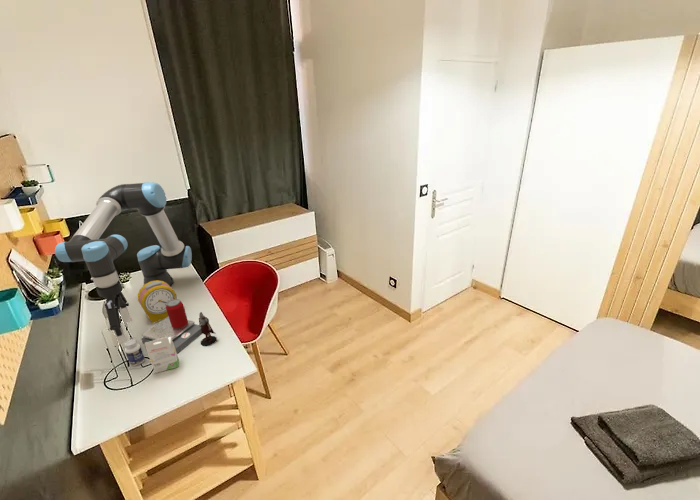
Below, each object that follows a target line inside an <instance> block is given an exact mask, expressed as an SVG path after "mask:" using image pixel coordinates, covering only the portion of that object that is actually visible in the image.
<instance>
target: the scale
mask: <svg viewBox="0 0 700 500" xmlns="http://www.w3.org/2000/svg"><path fill="white" fill-rule="evenodd" d="M202 334H203V333H202V332H201V328H200V327H199V324H196V323H194V324H193V325H192V326H190V327H189V328H188V329H186V330H185V331H184V332H183V333H181V334H180V335H179V336H177V337H176V338H175V339H174V340H172V341H173V343H174V346H175V349H176V352H177V354H179V353H180V352H182V350H184V349H185V348H186V347H187V346H188V345H189V344H191V343H192V342H193V341H195V339H197V338H198V337H199V336H200V335H202ZM140 340H141V343H142V344H143V345H145V342H149V341H153V340H152V339H149V338H145V337H141V338H140Z"/></svg>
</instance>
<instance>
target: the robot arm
mask: <svg viewBox="0 0 700 500" xmlns="http://www.w3.org/2000/svg"><path fill="white" fill-rule="evenodd" d="M166 205H167V197H166V191H165V190H164V188H163V187H162V186H161V185H160V184H159V183H157V182H154V181H153V182H150V181H145V182H139V183H137V182H136V183H122V184H118V185H116V186H113V187H112V188H110V189H108V190H107V191H105V192H104V193H103V194H102V195H101V196H100V197H99V198H98V199H97V201H96V203H95V208H94V209H93V210H92V211H91V212H90V213H89V215H88V216H87V218H86V219H85V220H84V221H83V223H82V224H81V225H80V227H79V228H78V229H77V231H76V232H75V233H74V234H73V236H72V237H71V238H70V239H69V240H68V241H62V242H59V243H57V244H56V245H55V248H54V254H55V257H56V258H57V260H58V261H59V262H61V263H62V262H63V263H76V262H85V264H86V267H87V269H88V271H89V274H90V276H91V278H90V280H91V281H93V284H94V286H95V289H96V293H97V294H98V296H99V297H100V298H105V299H106V300H105V303H104V307H105V310H106V313H107V318H108V323H109V324H108V325H109V330H110V331H113V332H114V335H115V337H116V340H117V342H118V344H120V343H124V342H125V343H126V342H127V341H128V338H127V335H126V333H125V330H124V328H123V325H121V318H122V321H123V323H124V324H126V323H130V322H132V321H133V318H132V317H131V313H130V311H129V308H128V307H129V306H130V303H129V302H128V300H127V299H126V297H125V295H124V294H123V292H122V291H123V286H122V283H121V281H120V278H119V274H118V271H117V269H116V266H115V263H114V262H115V261H116V259H118V258H119V257H120V256H121V255H123V254H124V253H125V252H126V250H127V248H128V247H129V246H128V245H129V244H128V241H127V238H126V237H124V236H122V235H120V234H111V235H109V236H107V237H106V238H101V236H102V235H103V233H104V232H105V231H106V229H107V228H108V226H109V225H110V223H111V222H112V220H113V219H114V218H115V216H118V215H119V214H121V212H124V211H127V210H137V211H138V213H139V215H141V216H143V217H145V219H146V220H147V223H148V225H149V226H150V228H151V230H152V232H153V234H154V236H155V237H156V239H157V241H158V243H159V245H157V244H155V245H149V246H147V247H144V248H141V249H140V250H139V251H138V252H137V254H136V257H137V262H138V264H139V266H140V270H141V272H142V275H143V286H144V285H145V284H146V283H148V282H150V281H156V280H159V281H164V282H165V283H167V284H168V285H169V286H170V287H171V288H172V286H173V285H174V284H175V282H174V278H173V277H172V275H171V274H170V273H169V272H168V270H173V269H175V270H176V269H184V268H189V267H190V266H191V264H192V257H193V256H192V255H193V254H192V248H191V247H190V246H189V245H186V246H185V244H184V243H183V241H181V240H179V239H178V236H177V234H176V232H175V230H174V228H173V226H172V224H171V221H170V220H169V218H168V216H167V214H166V212H165V208H166ZM160 246H161V247H160ZM143 286H142V287H143ZM120 315H121V317H120Z"/></svg>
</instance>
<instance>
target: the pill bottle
mask: <svg viewBox="0 0 700 500" xmlns="http://www.w3.org/2000/svg"><path fill="white" fill-rule="evenodd" d="M124 346H125V349H124V353H125V355H126V357H127V360H128V363H129V365H130V366H139V365H141V364H142V363H144V361H145V358H146V357H145V355H144V353H143V350H142V347H141V345H140V343H138V342H137V340H136V339H134V338H133V339H127V341H125V343H124Z"/></svg>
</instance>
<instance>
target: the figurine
mask: <svg viewBox="0 0 700 500" xmlns="http://www.w3.org/2000/svg"><path fill="white" fill-rule="evenodd" d="M198 315H199V318H198V323H199V324H198V325H199V327H200V328H201V332H202V334H203V335H204V336H205V337H204V338H202V339H201V340H200V345H201V346H203V347H209V346H212V345H214V344H215V343H216V342H217V337H216V336H215V335H212V334H216V332H215V331H214V330H213V328H212V326H211V324H210V322H209V318H208V317H206V316H205V315H204V313H203V312H202V311H201V312H199V314H198Z"/></svg>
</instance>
